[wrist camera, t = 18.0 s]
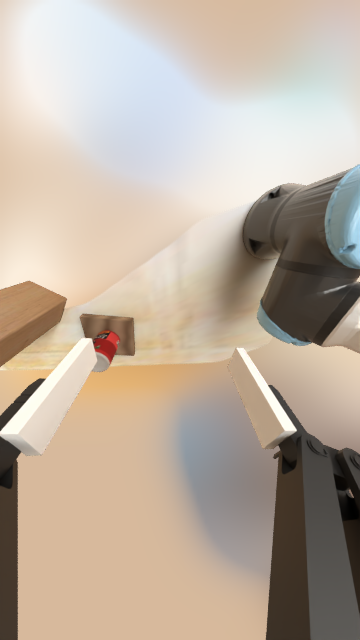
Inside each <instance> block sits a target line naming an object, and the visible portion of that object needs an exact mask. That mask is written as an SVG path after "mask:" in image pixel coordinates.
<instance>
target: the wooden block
mask: <svg viewBox="0 0 360 640" xmlns="http://www.w3.org/2000/svg"><path fill="white" fill-rule="evenodd" d="M66 300H67V299H66V298H65V297H63V296H61V295H59V294H56V293H54V292H52V291H50V290H48V289H46V288H44V287H42V286H39V285H37V284H35V283H33V282H31V281H27V282H24V283H21V284H17V285H14V286H11V287H8V288H5V289H2V290H0V367H1V366H2V365H3V364H5V363H6V362H7V361H9V360H10V359H11V358H13V357H14V356H15V355H16V354H18V353H19V352H20V351H22V350H23V349H24V348H26V347H27V346H28V345H30V344H31V343H32V342H33V341H35V340H36V339H37V338H39V337H40V336H41V335H43V334H44V333H45V332H46V331H48V330H49V329H50V328H52V327H53V326H54V325H56V324H57V323H58V322H60V320H61V316H62V313H63V310H64V307H65V304H66Z"/></svg>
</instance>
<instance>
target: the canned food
mask: <svg viewBox="0 0 360 640" xmlns="http://www.w3.org/2000/svg"><path fill="white" fill-rule="evenodd" d="M92 342H93V345H94V349H95V353H96V357H97V362H96V364H95V366H94V368H93V369H92V371H94V372H103V371H105V370H107V369H108V367H109V366H110V364H111V362H112V360H113V357H114V355H115V353H116V351H117V349H118V347H119V345H120V338H119V336H118V335H117V334H116V333H114V332H112V331H109V330H105V331H101V332H100V333H98V335H97V336H96V337H95V339H94V340H93V341H92Z"/></svg>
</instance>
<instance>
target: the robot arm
mask: <svg viewBox="0 0 360 640" xmlns="http://www.w3.org/2000/svg"><path fill="white" fill-rule="evenodd" d="M243 240H244V244H245V247H246V249H247V250H248V252H249V253H250V254H251V255H253V256H254V257H257V258H261V259H275V258H278V257H279V259H278V261H277V264H276V266H275V268H274V271H273V273H272V276H271V278H270V281H269V283H268V285H267V288H266V290H265V293H264V295H263V297H262V299H261V300H260V306H259V309H258V312H257V319H258V321H259V323H260V325H261V326H262V327H263V328H264V329H265V330H266V331H267V332H268V333H269V334H271V335H272V336H274V337H276V338H278V339H280V340H281V341H284V342H286V343H292V344H294V345H298V346H305V345H308V344H311V343H312V342H313V343H315V344H317V345H319V346H322V347H330V346H343V347H346V348H348V349H350V350H353V351H355V352H357V353H360V282H357V279H358V278H359V276H360V165H357V166H355V167H354V168H352V169H349V170H346V171H344V172H341V173H338V174H336V175H333V176H331V177H328V178H325V179H323V180H320V181H318V182H315V183H312V184H310V185H307V186H306V185H300V184H294V183H288V184H283V185H280V186H278V187H275V188H273V189H271V190H269V191H268V192H266V193H265V194H264V195H262V196H261V197H260V198H259V199H258V200H257V201H256V202H255V204H254V205H253V207H252V208H251V210H250V211H249V213H248V216H247V218H246V221H245V224H244V230H243ZM96 362H97V357H96V353H95V349H94V345H93V342H92V338H82V339H81V340H80V341H79V342H78V343H77V344H76V345H75V347H74V348H73V349H72V350H71V351H70V352H69V353H68V355H67V356H66V357H65V358H64V359H63V360H62V361H61V363H60V364H59V365H58V366H57V367H56V368H55V369H54V371H53V372H52V373H51V374H50V375H49V376H48V378H47V379H38V380H36V381H35V382H33V383H32V384H31V385H29V386H28V387H27V388H26V389H25V390H24V391H23V392H22V393H21V395H20V396H19V397H18V398H17V399H16V400H15V401H14V403H13V404H11V405H10V406H9V407H8V408H7V409H6V410H5V411H4V412H3V413H2V415H1V416H0V640H18V626H17V625H18V593H17V592H18V589H17V588H18V584H17V583H18V570H17V569H18V565H17V564H18V562H17V561H18V558H17V557H18V555H17V554H18V550H17V549H18V547H17V546H18V540H17V539H18V521H17V520H18V518H17V517H18V516H17V515H18V508H17V507H18V504H17V503H18V499H17V498H18V494H17V493H18V491H17V489H18V488H17V487H18V486H17V485H18V476H17V475H18V470H17V468H18V465H17V464H18V462H17V460H16V459H17V457H18V456H19V454H20V453H21V452H22V453H23V454H25V455H27V456H31V455H42V454H43V452H44V451H45V449H46V447H47V446H48V444H49V442H50V441H51V439H52V437H53V435H54V434H55V432H56V430H57V429H58V427H59V425H60V424H61V422H62V420H63V418H64V416H65V415H66V413H67V412H68V410H69V408H70V407H71V405H72V403H73V401H74V400H75V398H76V396H77V395H78V393H79V391H80V389H81V388H82V386H83V384H84V383H85V381H86V379H87V377H88V376H89V374H90V373H91V371H92V369H93V368H94V366H95V364H96ZM228 369H229V372H230V374H231V376H232V378H233V381H234V383H235V386H236V388H237V390H238V393H239V395H240V397H241V400H242V401H243V404H244V406H245V408H246V411H247V413H248V416H249V418H250V420H251V423H252V425H253V427H254V430H255V432H256V434H257V437H258V439H259V441H260V444H261V446H262V448H263V449H274V448H275V447H276V446H279V447H280V451H279V452H277V453H276V454H274V457H273V458H274V459H276V458H277V457H279V460H278V475H277V490H276V504H275V518H274V532H273V546H272V560H271V576H270V590H269V603H268V618H267V632H266V640H360V454H358V453H357V452H355V451H354V450H352V449H349V448H344V449H342V450H340V451H339V450H336V449H333V448H331V447H328V446H326V445H323V444H322V443H321V442H320V441H319V440H318V439H317V438H315V437H314V436H312V435H310V434H308V433H307V432H306V431H305V429H304V428H303V426H302V425H301V423H300V422H299V420H298V419H297V418H296V416H295V415H294V413H293V412H292V410H291V409H290V408H289V406H288V405H287V403H286V402H285V400H283V397H282V396H281V395H280V393H279V392H278V391H277V390H276V389H275V388H274V387H273V386H272V385H267V383H266V382H265V380H264V379H263V377H262V376H261V374H260V373H259V371H258V369H257V368H256V366H255V365H254V363H253V362H252V360H251V359H250V357H249V356H248V354H247V353H246V351H245V349H244V348H236V349H235V351H234V354H233V356H232V358H231V360H230V362H229V364H228ZM349 489H351V492H352V494H353V496H354V498H353V497H352V496H351V494H350V493H349Z"/></svg>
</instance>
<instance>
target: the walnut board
mask: <svg viewBox="0 0 360 640" xmlns="http://www.w3.org/2000/svg"><path fill="white" fill-rule="evenodd" d="M80 319H81V323H82V327H83V330H84V334H85V337H86V338H92V341H93V340H94V339H95V337H96V336H97V335H98V333H100V332H101V331H105V330H109V331H112V332H114V333H116V334H117V335H118V336H119V338H120V345H119V347H118V349H117V351H116V353H115V355H131V356H134V354H135V341H134V322H133V318H128V317H116V316H104V315H92V314H82V315H81V316H80Z"/></svg>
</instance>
